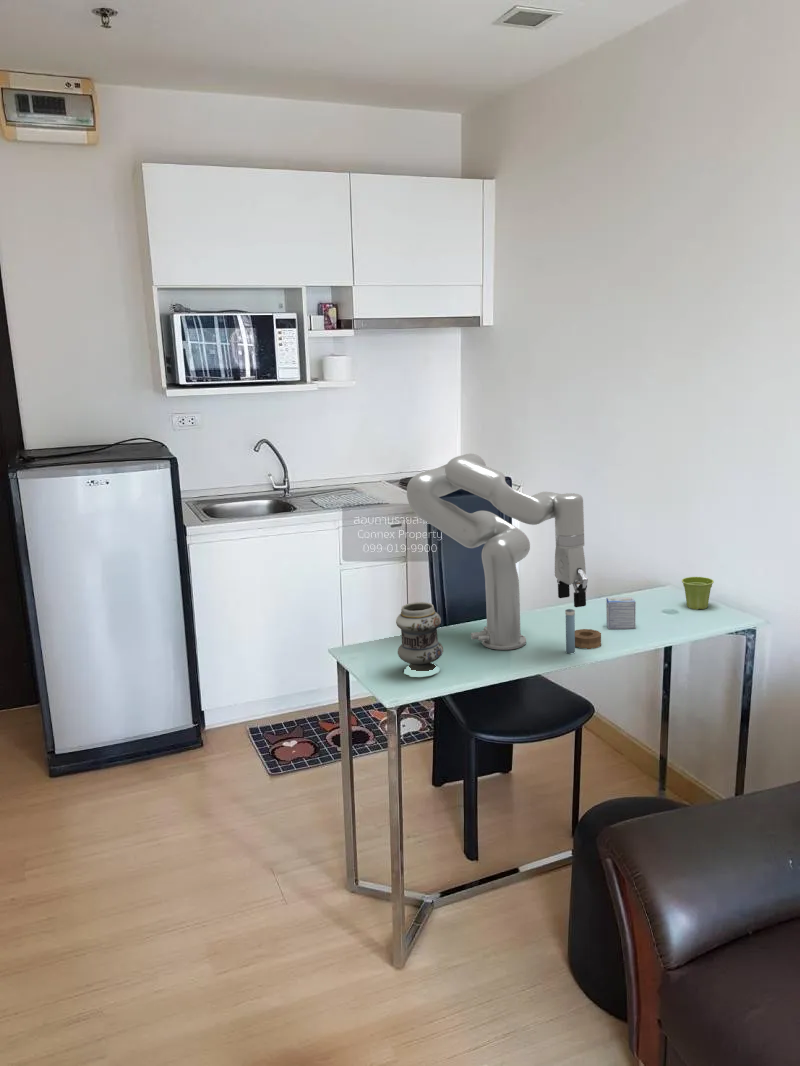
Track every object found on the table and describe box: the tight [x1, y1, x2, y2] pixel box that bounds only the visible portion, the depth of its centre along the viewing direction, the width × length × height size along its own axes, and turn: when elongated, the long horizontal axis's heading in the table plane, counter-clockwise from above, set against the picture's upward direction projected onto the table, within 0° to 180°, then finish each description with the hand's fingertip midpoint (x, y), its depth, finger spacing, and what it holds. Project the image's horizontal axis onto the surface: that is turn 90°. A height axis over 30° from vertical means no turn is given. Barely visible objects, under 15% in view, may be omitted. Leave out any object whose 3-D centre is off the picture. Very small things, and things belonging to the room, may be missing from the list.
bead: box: [575, 628, 602, 650], centre depth 228 cm, size 8×8×3 cm
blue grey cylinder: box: [564, 608, 576, 654], centre depth 221 cm, size 2×2×12 cm
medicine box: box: [605, 596, 637, 630], centre depth 240 cm, size 8×4×9 cm, turn 84°
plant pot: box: [681, 576, 714, 610], centre depth 255 cm, size 9×9×9 cm
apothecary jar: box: [395, 601, 444, 671], centre depth 213 cm, size 12×12×18 cm
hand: (571, 601), depth 219 cm, fingers open, 9 cm apart
